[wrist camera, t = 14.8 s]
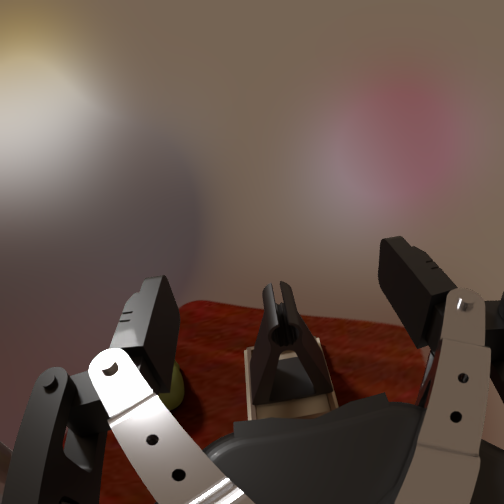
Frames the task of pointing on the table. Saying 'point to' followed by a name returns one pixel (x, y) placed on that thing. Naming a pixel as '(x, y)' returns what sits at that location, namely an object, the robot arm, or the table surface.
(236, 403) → the table surface
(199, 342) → the table surface
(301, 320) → the phone stand
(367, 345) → the table surface
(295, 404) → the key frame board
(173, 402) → the pear
